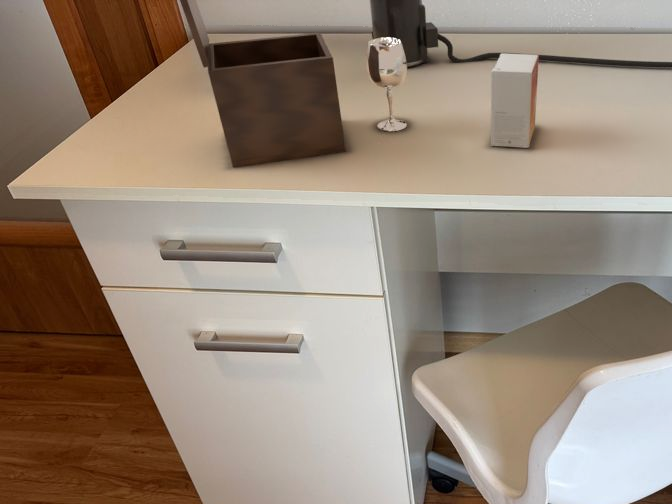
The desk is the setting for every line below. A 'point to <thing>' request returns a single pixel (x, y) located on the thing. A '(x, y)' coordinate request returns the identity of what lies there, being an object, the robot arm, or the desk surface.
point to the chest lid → (197, 30)
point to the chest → (276, 98)
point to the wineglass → (387, 73)
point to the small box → (513, 100)
